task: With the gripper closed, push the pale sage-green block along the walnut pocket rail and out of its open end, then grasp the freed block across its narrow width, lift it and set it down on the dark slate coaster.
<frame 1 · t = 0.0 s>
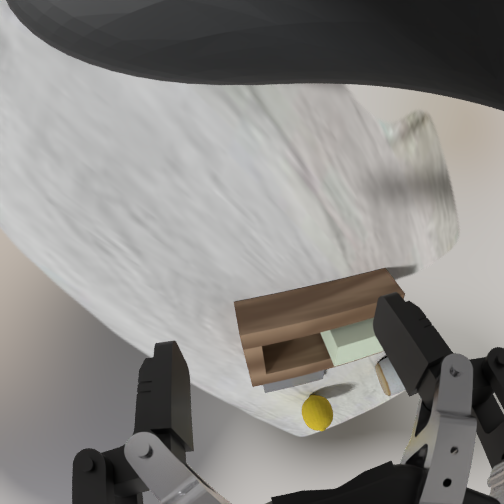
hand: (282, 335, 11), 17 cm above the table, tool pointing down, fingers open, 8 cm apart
ceramic mug: (393, 358, 49), on the table
pocket rail: (314, 316, 37), on the table
lemon: (311, 394, 50), on the table
slate coaster: (292, 367, 43), on the table
sage block: (345, 307, 37), resting in pocket rail
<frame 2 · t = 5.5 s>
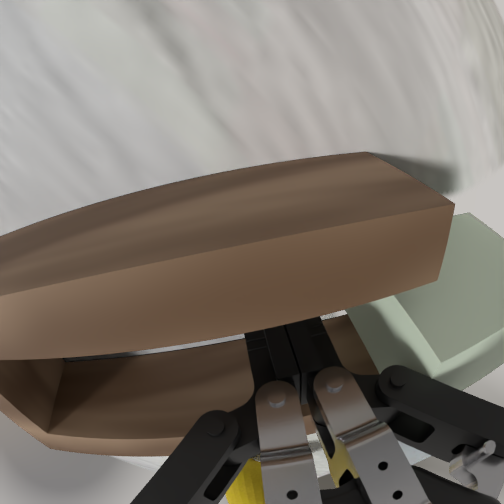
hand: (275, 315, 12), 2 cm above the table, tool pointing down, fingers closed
ceramic mug: (401, 400, 25), on the table
pocket rail: (159, 309, 13), on the table
lemon: (246, 455, 25), on the table
sage block: (412, 256, 14), on the table, touching hand
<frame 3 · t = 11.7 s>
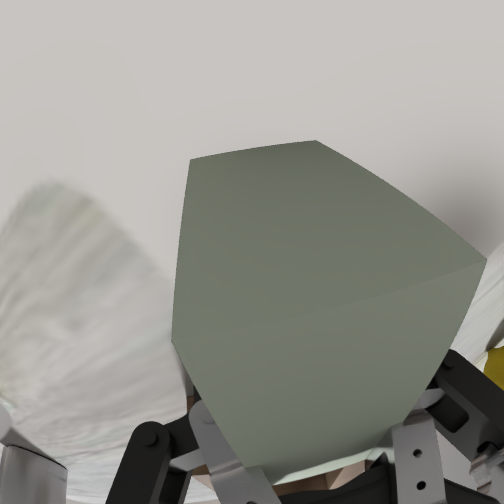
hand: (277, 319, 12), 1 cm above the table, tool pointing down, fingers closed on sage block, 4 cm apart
pocket rail: (286, 436, 21), on the table
lemon: (488, 348, 22), on the table
sage block: (267, 255, 11), on the table, touching gripper
when the fingers open (3 cm above the table, at t = 16.8 s): sage block drops 2 cm, resting on slate coaster.
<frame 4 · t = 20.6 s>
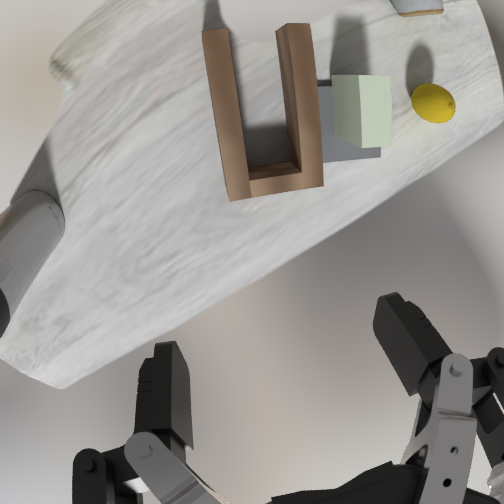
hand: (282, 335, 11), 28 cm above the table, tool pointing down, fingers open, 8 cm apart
pocket rail: (260, 106, 32), on the table
lemon: (414, 99, 33), on the table
slate coaster: (345, 122, 34), on the table
sage block: (347, 105, 32), point 1 cm above the table, touching slate coaster
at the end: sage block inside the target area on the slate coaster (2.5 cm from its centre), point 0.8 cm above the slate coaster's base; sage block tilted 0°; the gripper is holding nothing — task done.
